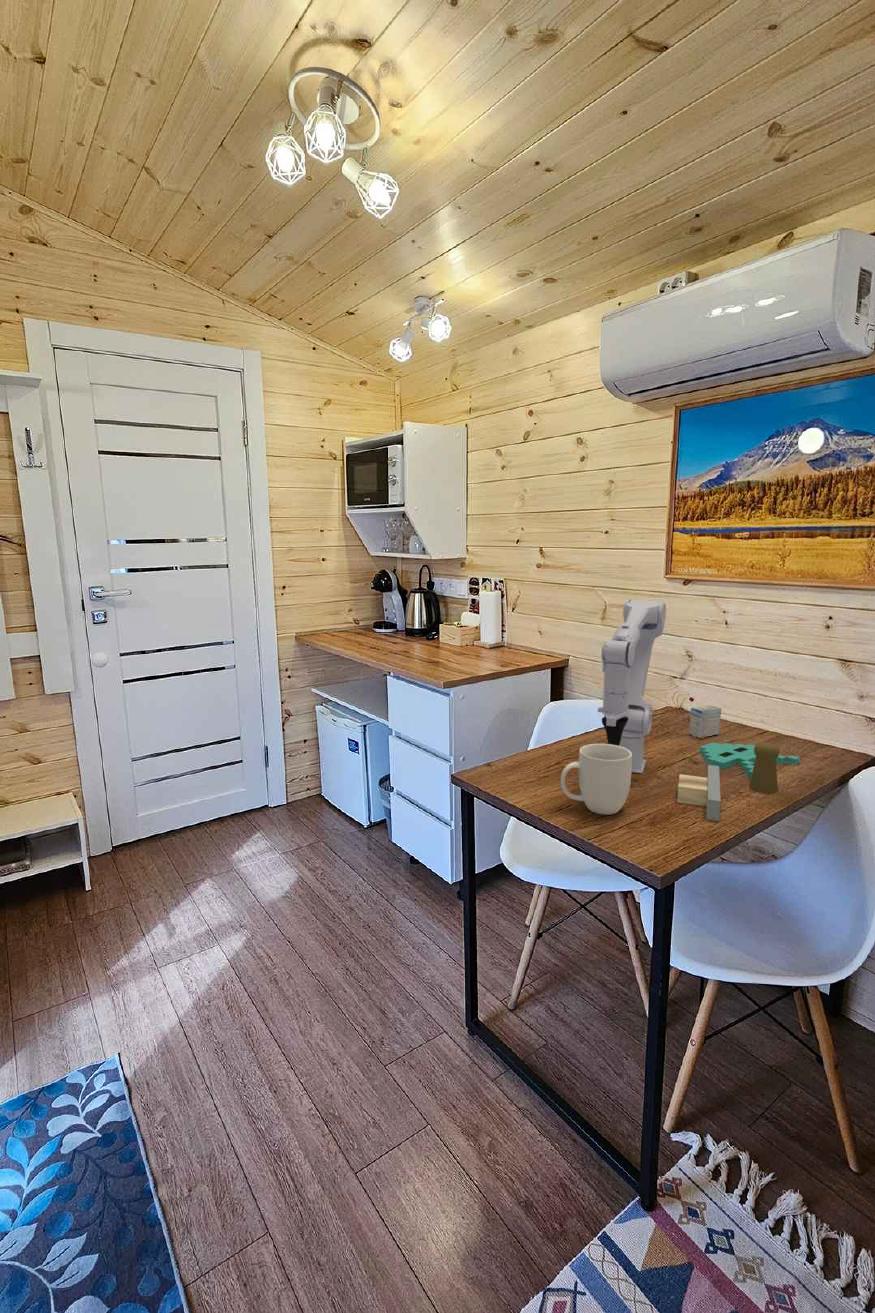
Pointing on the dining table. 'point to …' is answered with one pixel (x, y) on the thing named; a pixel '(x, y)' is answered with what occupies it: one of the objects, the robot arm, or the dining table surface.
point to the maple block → (692, 790)
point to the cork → (765, 768)
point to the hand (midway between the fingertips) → (613, 747)
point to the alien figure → (736, 756)
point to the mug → (602, 777)
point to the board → (713, 793)
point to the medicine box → (705, 720)
